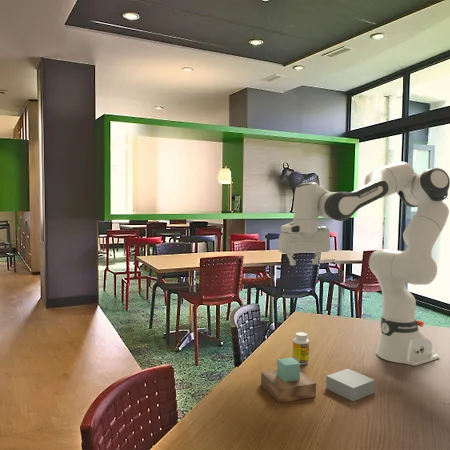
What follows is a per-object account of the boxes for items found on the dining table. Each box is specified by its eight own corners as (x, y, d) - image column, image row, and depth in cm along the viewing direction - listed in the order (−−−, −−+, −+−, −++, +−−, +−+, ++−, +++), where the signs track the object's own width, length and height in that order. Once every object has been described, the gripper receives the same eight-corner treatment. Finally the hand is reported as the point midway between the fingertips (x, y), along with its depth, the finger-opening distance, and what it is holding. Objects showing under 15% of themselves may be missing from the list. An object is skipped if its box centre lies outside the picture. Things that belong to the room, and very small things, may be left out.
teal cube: (291, 373, 134) (291, 357, 134) (299, 379, 130) (300, 363, 129) (276, 375, 133) (277, 359, 132) (284, 382, 128) (285, 365, 127)
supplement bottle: (300, 366, 150) (301, 337, 149) (289, 361, 154) (289, 332, 153) (311, 363, 153) (312, 334, 152) (300, 358, 157) (301, 330, 157)
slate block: (347, 380, 139) (347, 368, 139) (374, 392, 131) (374, 379, 131) (325, 388, 133) (326, 375, 133) (352, 401, 125) (353, 388, 125)
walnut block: (295, 379, 139) (295, 367, 139) (315, 396, 128) (316, 383, 128) (260, 384, 135) (261, 372, 134) (279, 402, 124) (279, 389, 123)
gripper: (324, 226, 166) (323, 262, 167) (276, 226, 158) (275, 264, 159) (334, 227, 160) (333, 264, 161) (285, 228, 153) (283, 267, 154)
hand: (304, 264), depth 160 cm, fingers open, 8 cm apart
